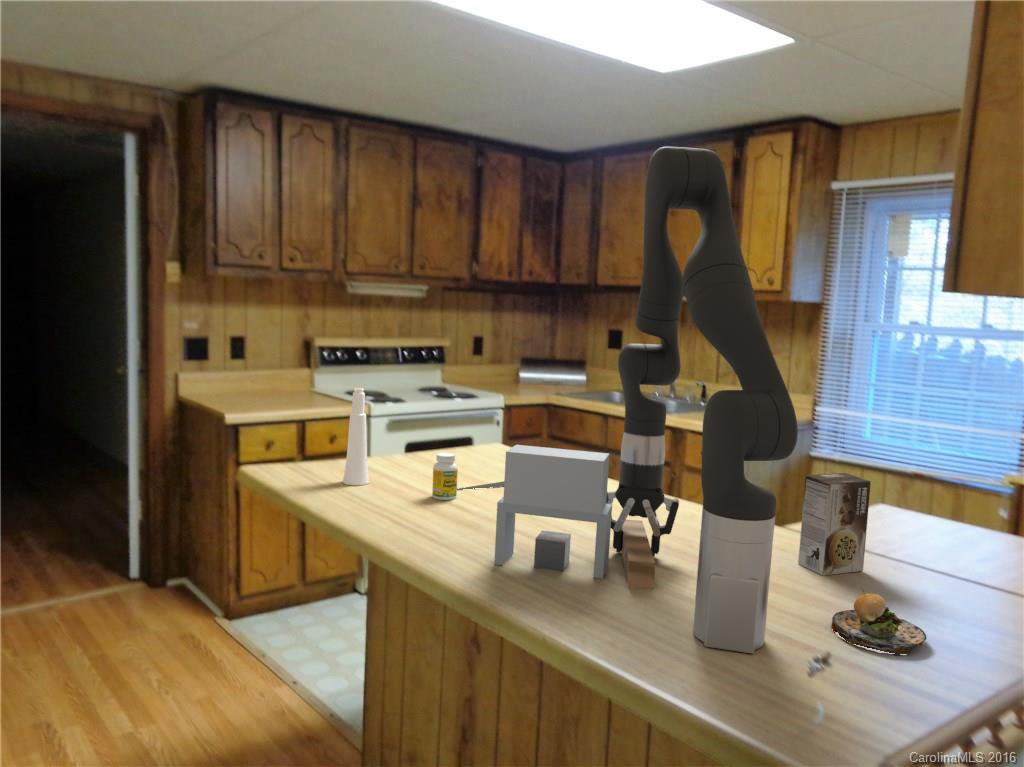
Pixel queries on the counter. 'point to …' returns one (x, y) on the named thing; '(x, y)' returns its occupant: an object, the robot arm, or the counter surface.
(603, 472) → the cabinet
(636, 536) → the bar
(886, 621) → the burger
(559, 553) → the cube
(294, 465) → the counter surface
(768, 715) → the counter surface
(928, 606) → the counter surface
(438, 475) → the supplement bottle
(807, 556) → the coffee box
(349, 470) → the cosmetic bottle
